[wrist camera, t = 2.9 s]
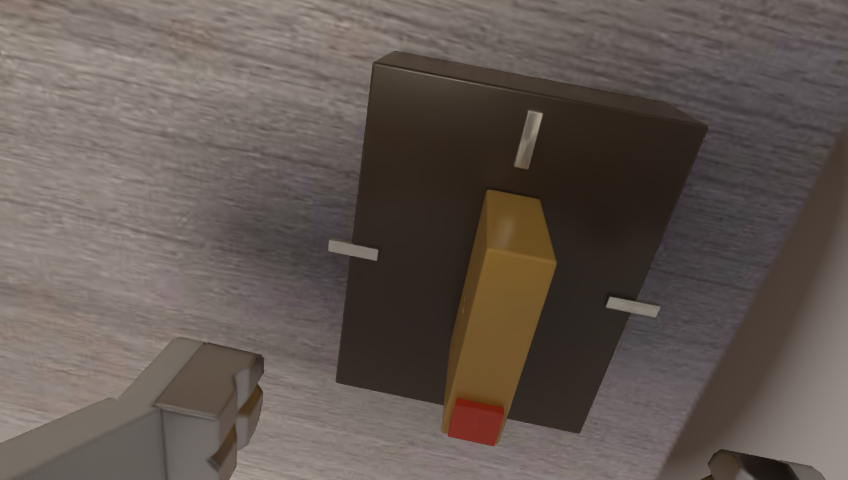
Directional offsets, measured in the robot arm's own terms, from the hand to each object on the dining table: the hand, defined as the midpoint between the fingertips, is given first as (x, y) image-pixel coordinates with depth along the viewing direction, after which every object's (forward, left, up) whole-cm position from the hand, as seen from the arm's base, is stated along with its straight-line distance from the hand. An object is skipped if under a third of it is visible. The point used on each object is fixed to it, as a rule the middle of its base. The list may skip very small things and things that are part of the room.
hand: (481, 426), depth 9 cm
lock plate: (0, 0, -9) cm, 9 cm away
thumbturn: (0, 0, -5) cm, 5 cm away
